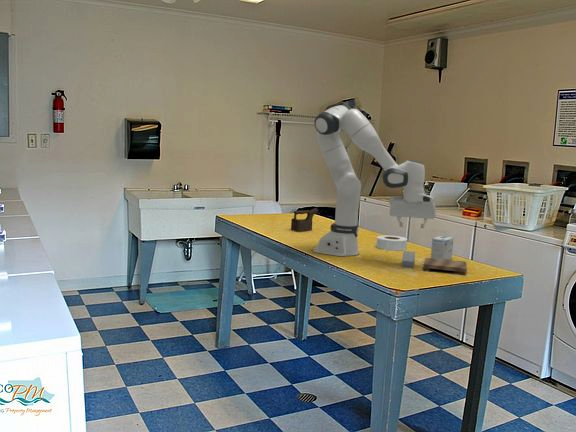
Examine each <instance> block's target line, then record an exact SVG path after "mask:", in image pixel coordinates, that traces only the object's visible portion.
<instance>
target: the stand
mask: <svg viewBox="0 0 576 432" xmlns="http://www.w3.org/2000/svg"><path fill="white" fill-rule="evenodd" d="M423 269H424V272H429V271H430V270H431V269H432V270H433V269H434V270H443V271H452V272H459V275H462V276H465V275H466V273H467V272H468V271H467V270H468V267H467V261H465V260H464V261H463V260H452V259H450V260H444V259H434V258H431V257H424V261H423Z"/></svg>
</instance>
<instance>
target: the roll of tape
mask: <svg viewBox="0 0 576 432" xmlns="http://www.w3.org/2000/svg"><path fill="white" fill-rule="evenodd" d="M407 246H408V238H407V237H405V236H404V237H403V236H398V235H389V234H388V235H378V236H377V237H376V249H380V250H384V251H389V252H390V251H392V252H401V251H403V252H404V251H407V248H408V247H407Z"/></svg>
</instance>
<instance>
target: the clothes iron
mask: <svg viewBox="0 0 576 432" xmlns="http://www.w3.org/2000/svg"><path fill="white" fill-rule="evenodd" d="M318 213H319V211H318V208H317V207H314V208H312V209H310V210H309V209H307V210H294V211H293V218H291V224H290V229H291V231H293V230H294V232H297V233H303V232H311V231H312V230H313V218H314V215H317V214H318ZM305 214H307V215H306V218H303V219H300V218H299V219H298V218H297V215H305Z"/></svg>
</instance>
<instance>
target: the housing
mask: <svg viewBox="0 0 576 432" xmlns="http://www.w3.org/2000/svg"><path fill="white" fill-rule="evenodd" d="M401 257H402V259H401V268H408V269H414V267H415V261H416V251H413V250H412V251H411V250H410V251H409V250H403V252H402V256H401Z"/></svg>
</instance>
